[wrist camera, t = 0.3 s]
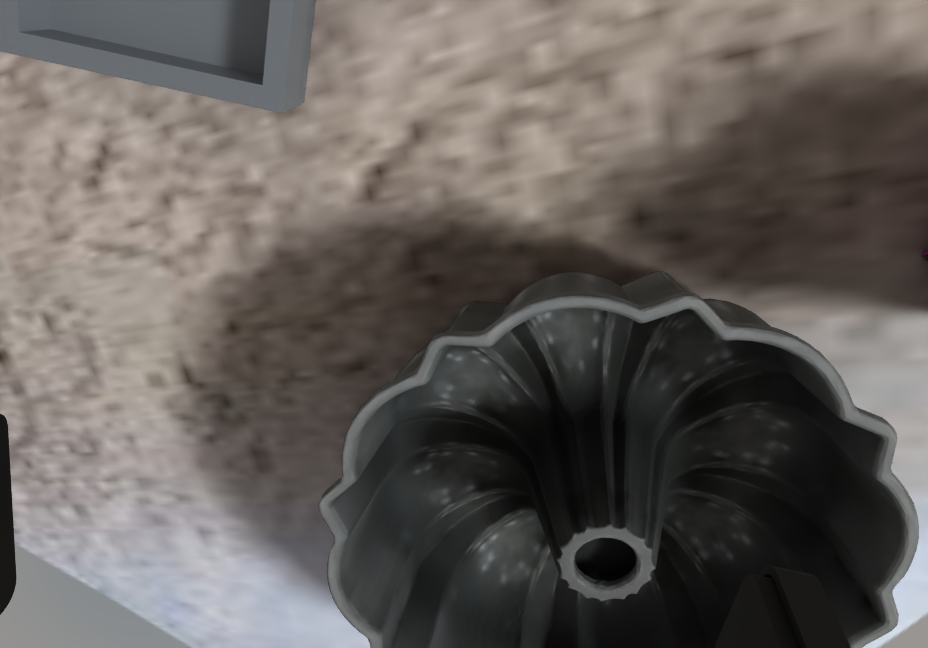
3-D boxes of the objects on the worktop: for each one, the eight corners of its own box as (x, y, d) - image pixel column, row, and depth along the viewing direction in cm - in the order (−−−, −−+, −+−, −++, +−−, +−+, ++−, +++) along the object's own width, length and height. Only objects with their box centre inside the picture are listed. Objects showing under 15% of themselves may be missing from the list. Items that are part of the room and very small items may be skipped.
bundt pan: (633, 692, 52) (653, 844, 42) (283, 487, 48) (221, 607, 39) (948, 404, 42) (1062, 522, 33) (538, 116, 38) (537, 159, 29)
